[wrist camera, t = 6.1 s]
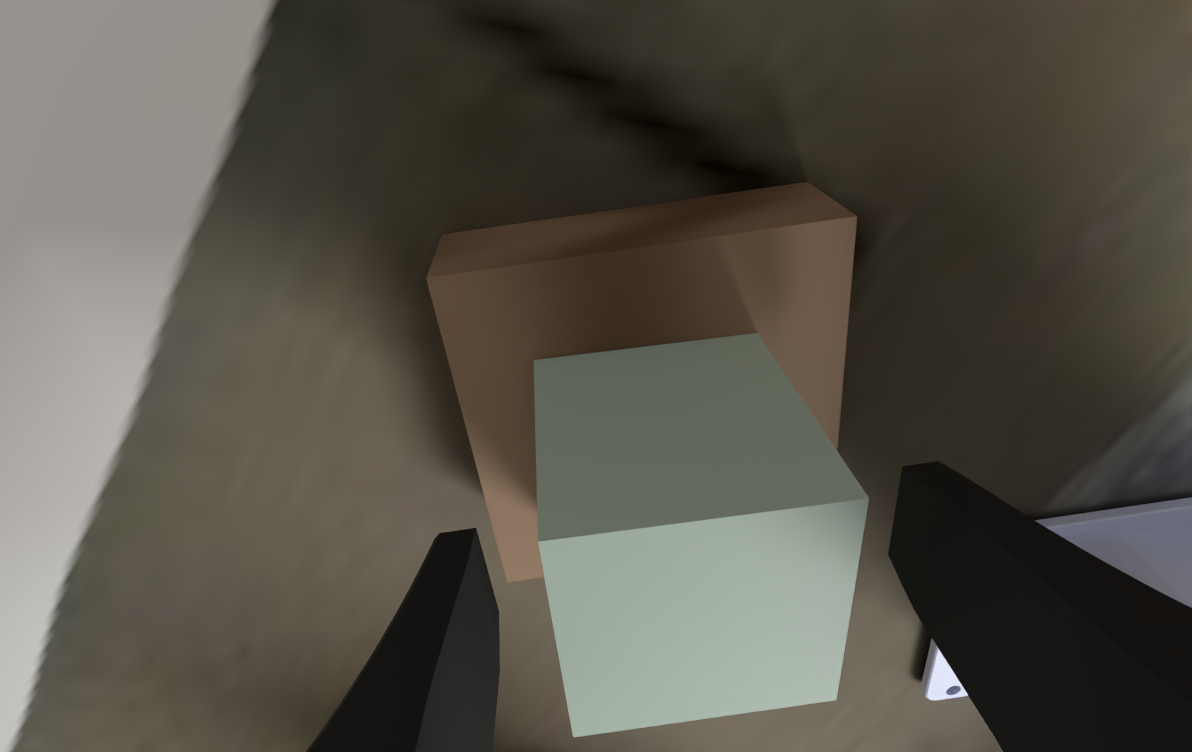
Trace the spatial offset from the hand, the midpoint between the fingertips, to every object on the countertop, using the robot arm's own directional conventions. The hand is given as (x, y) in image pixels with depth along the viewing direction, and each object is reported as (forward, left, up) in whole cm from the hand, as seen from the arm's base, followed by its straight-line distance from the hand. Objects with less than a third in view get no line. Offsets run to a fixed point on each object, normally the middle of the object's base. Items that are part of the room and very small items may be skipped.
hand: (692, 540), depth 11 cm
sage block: (0, 0, -3) cm, 3 cm away
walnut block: (0, 0, -6) cm, 6 cm away
